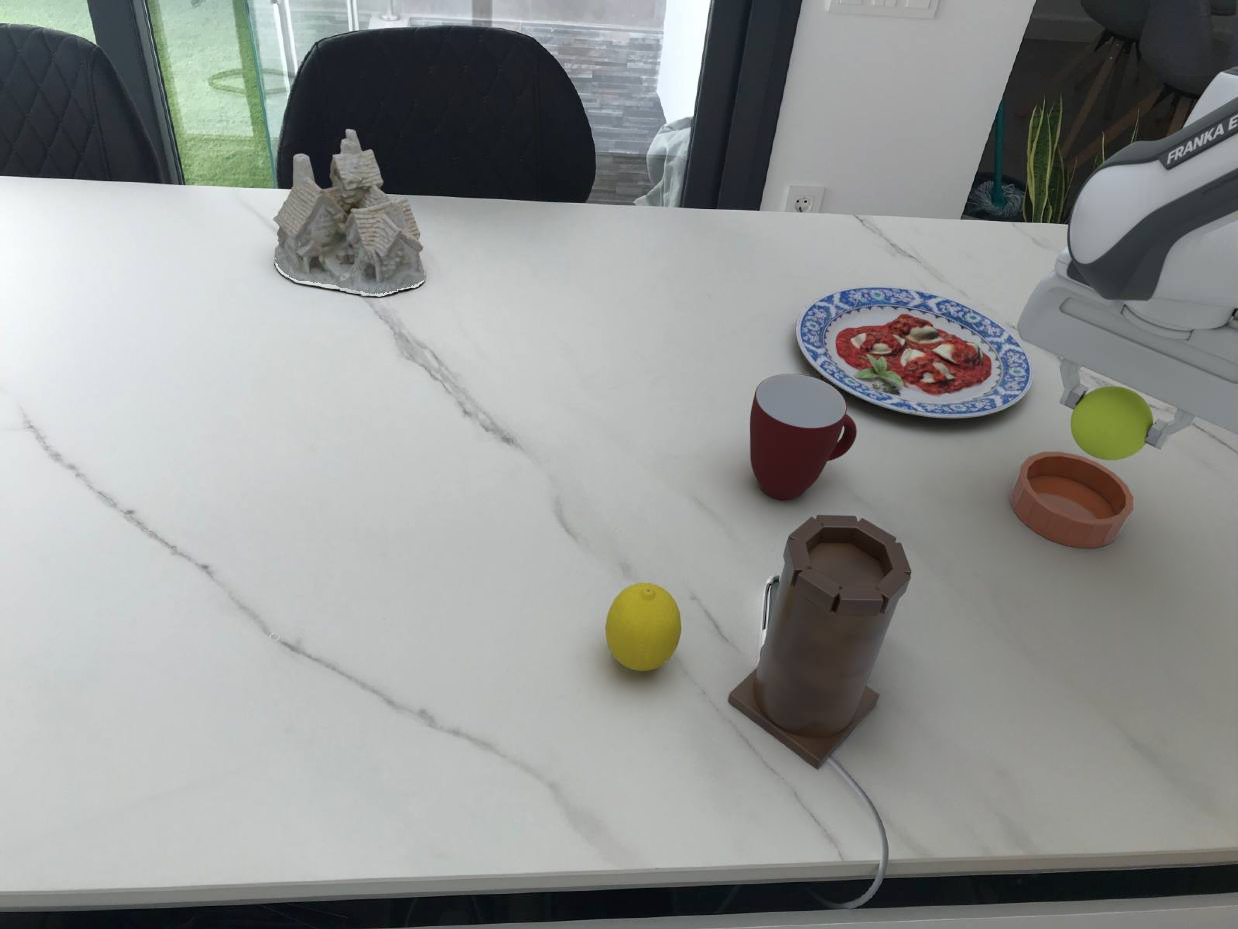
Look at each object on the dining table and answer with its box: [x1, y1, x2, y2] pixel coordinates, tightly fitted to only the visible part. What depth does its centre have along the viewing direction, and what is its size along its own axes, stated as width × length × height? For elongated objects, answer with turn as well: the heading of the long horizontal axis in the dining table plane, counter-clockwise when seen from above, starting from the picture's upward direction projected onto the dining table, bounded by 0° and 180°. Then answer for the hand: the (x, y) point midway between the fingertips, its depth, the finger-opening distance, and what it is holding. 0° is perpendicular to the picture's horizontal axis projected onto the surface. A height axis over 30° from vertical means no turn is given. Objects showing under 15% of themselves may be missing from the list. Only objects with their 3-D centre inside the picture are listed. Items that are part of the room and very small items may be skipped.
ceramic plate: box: [795, 285, 1034, 419], centre depth 108 cm, size 26×26×3 cm
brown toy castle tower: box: [727, 514, 913, 770], centre depth 67 cm, size 8×8×16 cm
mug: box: [749, 373, 858, 501], centre depth 88 cm, size 11×8×10 cm
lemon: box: [604, 582, 682, 672], centre depth 72 cm, size 6×6×8 cm
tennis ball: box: [1070, 385, 1154, 461], centre depth 84 cm, size 6×6×6 cm
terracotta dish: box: [1009, 451, 1134, 549], centre depth 90 cm, size 10×10×3 cm
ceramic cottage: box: [272, 128, 426, 294], centre depth 111 cm, size 16×16×15 cm
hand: (1110, 423), depth 85 cm, fingers closed on tennis ball, 6 cm apart
